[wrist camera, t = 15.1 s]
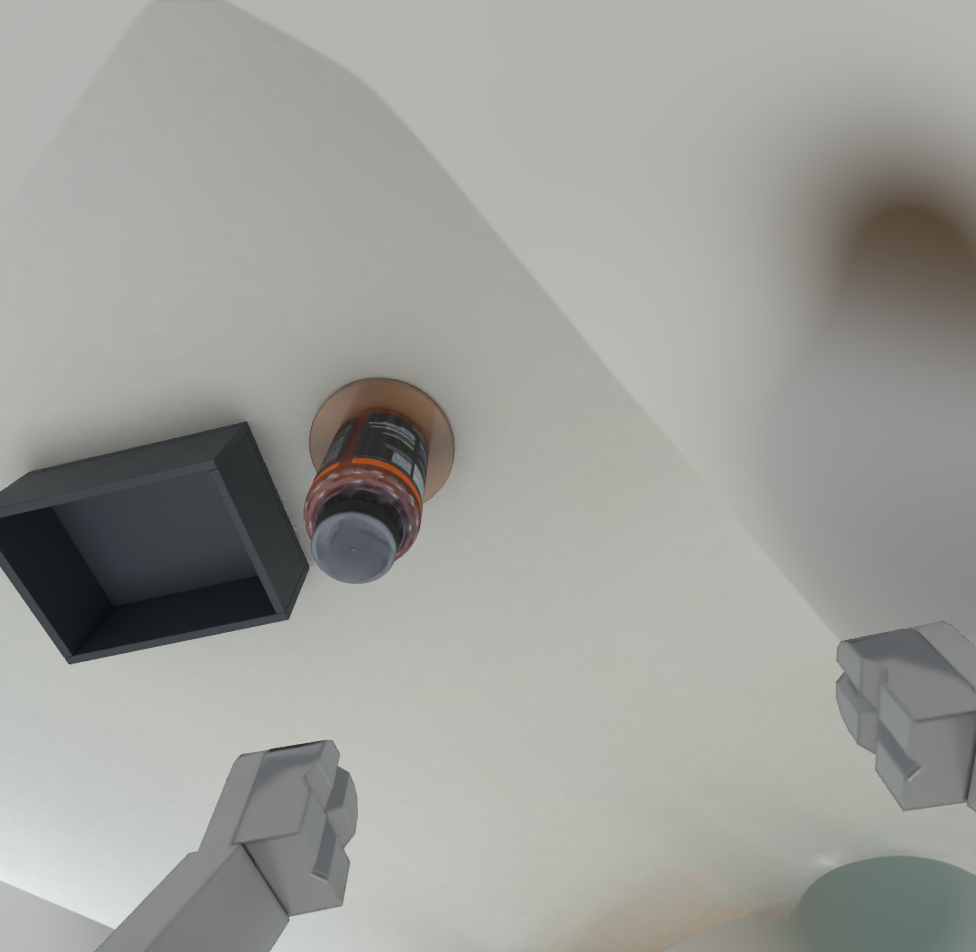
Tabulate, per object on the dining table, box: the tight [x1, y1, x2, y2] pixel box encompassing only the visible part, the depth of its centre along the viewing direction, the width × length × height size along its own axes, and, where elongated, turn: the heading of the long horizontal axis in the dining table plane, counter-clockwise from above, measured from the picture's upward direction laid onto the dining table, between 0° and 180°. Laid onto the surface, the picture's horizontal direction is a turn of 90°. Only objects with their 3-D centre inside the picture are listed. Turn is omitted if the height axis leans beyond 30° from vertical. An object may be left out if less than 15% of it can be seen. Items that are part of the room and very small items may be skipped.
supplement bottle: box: [304, 409, 428, 584], centre depth 34 cm, size 6×6×11 cm
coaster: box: [309, 379, 454, 503], centre depth 39 cm, size 9×9×1 cm
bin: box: [0, 422, 309, 664], centre depth 39 cm, size 11×15×6 cm
